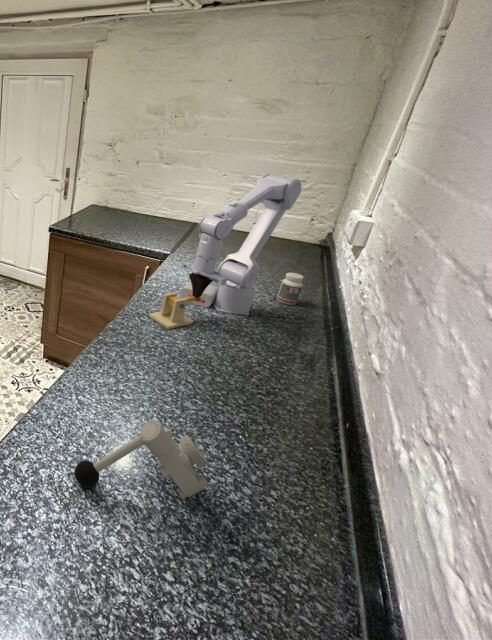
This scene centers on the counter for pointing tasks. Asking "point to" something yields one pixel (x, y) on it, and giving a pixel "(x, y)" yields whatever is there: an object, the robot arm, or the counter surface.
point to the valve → (169, 454)
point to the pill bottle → (290, 289)
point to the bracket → (172, 313)
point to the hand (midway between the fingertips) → (196, 296)
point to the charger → (207, 295)
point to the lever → (192, 298)
